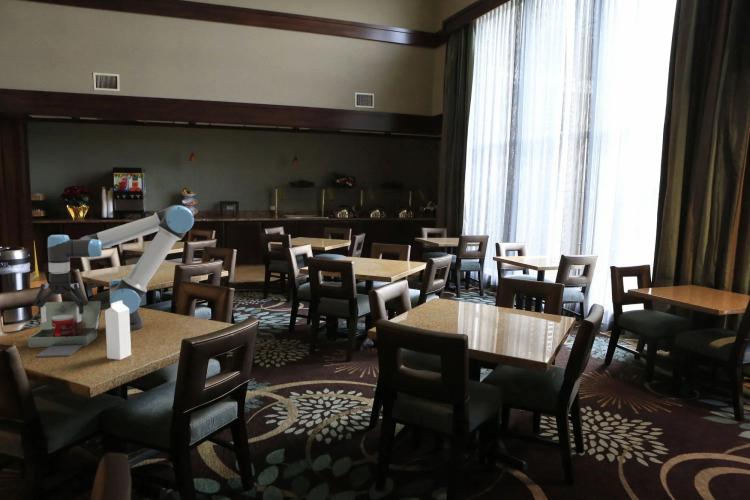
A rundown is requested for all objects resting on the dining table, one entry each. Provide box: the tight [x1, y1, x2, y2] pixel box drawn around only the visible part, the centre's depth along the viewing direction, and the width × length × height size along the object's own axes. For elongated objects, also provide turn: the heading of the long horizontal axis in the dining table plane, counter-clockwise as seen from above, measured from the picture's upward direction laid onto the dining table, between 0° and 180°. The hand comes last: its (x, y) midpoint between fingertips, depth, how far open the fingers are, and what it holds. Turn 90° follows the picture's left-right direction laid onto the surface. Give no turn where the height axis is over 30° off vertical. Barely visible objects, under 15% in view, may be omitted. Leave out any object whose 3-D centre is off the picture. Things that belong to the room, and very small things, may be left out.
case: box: [27, 300, 102, 349], centre depth 215 cm, size 24×17×15 cm
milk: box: [104, 300, 132, 361], centre depth 195 cm, size 6×6×22 cm
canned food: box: [52, 315, 74, 337], centre depth 212 cm, size 8×8×11 cm
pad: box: [35, 345, 83, 358], centre depth 201 cm, size 12×12×1 cm
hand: (61, 321), depth 212 cm, fingers open, 13 cm apart
